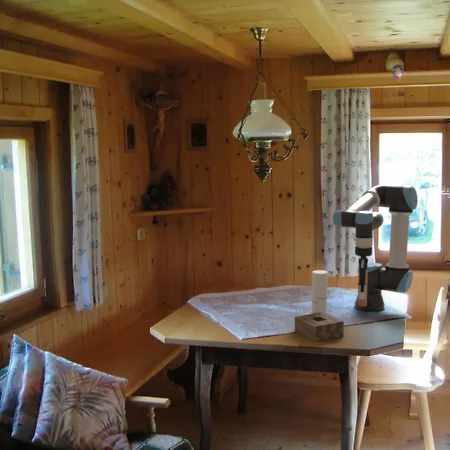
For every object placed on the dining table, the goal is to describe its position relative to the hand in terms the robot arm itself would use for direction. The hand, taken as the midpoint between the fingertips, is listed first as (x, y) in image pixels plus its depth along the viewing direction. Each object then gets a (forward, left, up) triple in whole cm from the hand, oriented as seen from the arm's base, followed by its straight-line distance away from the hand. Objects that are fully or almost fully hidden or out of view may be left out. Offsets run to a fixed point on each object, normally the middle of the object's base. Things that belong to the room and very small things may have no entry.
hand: (362, 297), depth 285 cm
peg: (0, 0, -4) cm, 4 cm away
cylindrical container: (+4, -27, -19) cm, 33 cm away
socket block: (+14, -13, -19) cm, 27 cm away
